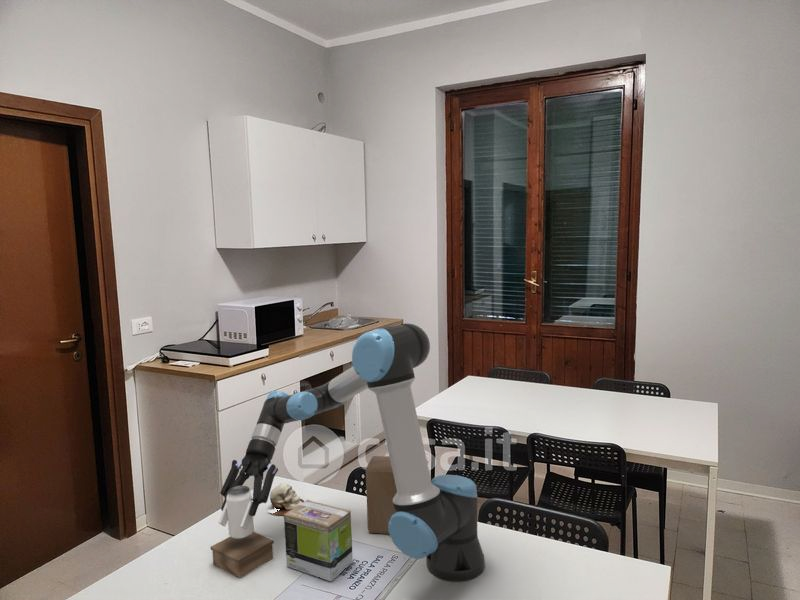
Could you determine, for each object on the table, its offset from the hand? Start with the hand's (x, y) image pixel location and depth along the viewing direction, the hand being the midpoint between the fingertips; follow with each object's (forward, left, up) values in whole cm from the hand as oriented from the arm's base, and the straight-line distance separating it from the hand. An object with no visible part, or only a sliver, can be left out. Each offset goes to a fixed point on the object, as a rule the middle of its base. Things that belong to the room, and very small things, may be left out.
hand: (232, 526), depth 148 cm
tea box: (-17, -14, -12) cm, 25 cm away
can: (+1, -3, -4) cm, 6 cm away
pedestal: (+1, -3, -12) cm, 12 cm away
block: (-20, -39, -12) cm, 46 cm away
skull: (+15, -31, -12) cm, 37 cm away
